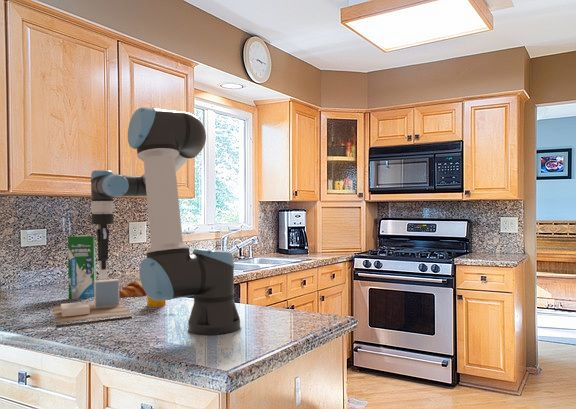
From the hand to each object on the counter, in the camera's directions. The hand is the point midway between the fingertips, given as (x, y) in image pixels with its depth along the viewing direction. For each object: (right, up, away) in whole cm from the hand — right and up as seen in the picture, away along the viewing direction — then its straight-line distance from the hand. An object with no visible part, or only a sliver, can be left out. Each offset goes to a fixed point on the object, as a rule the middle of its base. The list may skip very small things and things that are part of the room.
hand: (103, 278), depth 174 cm
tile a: (-5, -7, -13) cm, 16 cm away
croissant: (+8, -10, +16) cm, 21 cm away
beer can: (+21, -10, -6) cm, 24 cm away
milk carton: (-13, -11, +14) cm, 22 cm away
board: (+1, -10, -13) cm, 17 cm away
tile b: (+4, -9, -7) cm, 12 cm away
